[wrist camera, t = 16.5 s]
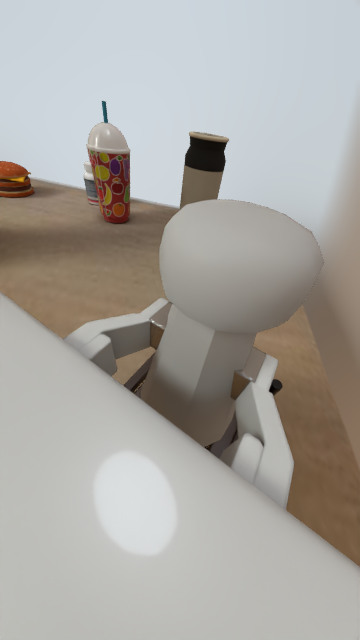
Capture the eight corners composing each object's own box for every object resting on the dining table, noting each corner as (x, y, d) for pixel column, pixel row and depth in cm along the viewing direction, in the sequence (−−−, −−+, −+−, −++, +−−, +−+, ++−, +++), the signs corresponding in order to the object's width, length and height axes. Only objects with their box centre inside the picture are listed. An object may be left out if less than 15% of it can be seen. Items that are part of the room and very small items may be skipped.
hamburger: (-12, 197, 50) (-29, 164, 45) (0, 186, 56) (-14, 156, 51) (32, 198, 52) (20, 167, 48) (38, 188, 59) (28, 159, 54)
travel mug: (208, 242, 47) (231, 140, 34) (175, 236, 47) (185, 132, 34) (209, 229, 52) (229, 137, 39) (179, 224, 52) (190, 130, 39)
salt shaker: (234, 449, 13) (466, 284, 4) (144, 468, 12) (136, 294, 2) (208, 368, 17) (285, 190, 7) (139, 377, 15) (127, 174, 6)
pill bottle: (103, 206, 54) (97, 166, 48) (85, 203, 55) (76, 162, 48) (111, 201, 58) (106, 163, 52) (93, 198, 58) (87, 159, 52)
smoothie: (108, 210, 53) (94, 99, 39) (138, 216, 52) (134, 106, 38) (92, 221, 47) (67, 95, 33) (125, 228, 47) (115, 103, 32)
